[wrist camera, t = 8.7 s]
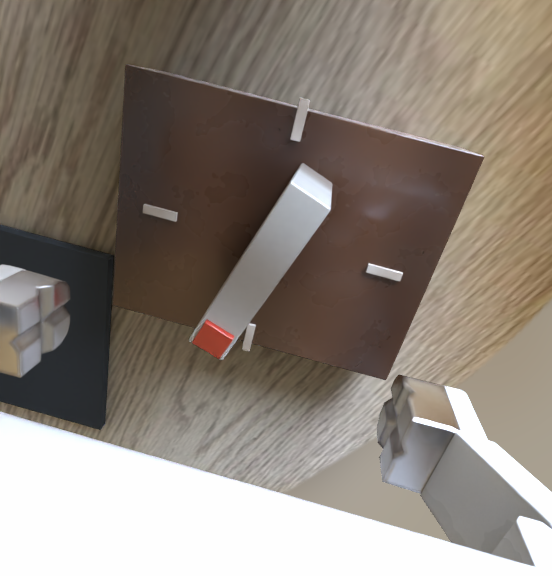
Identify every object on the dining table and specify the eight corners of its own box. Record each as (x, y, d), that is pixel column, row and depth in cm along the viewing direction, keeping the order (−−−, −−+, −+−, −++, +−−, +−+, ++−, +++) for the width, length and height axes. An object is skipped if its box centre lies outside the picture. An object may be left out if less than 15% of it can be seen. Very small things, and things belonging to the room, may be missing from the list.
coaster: (114, 255, 21) (108, 259, 20) (105, 423, 26) (100, 430, 26) (-103, 196, 21) (-114, 198, 21) (-69, 373, 27) (-78, 379, 26)
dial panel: (465, 138, 16) (491, 146, 14) (377, 350, 21) (383, 389, 18) (159, 60, 17) (123, 52, 14) (140, 285, 22) (109, 313, 19)
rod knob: (301, 161, 15) (289, 182, 11) (333, 183, 15) (331, 211, 11) (218, 291, 18) (184, 344, 14) (245, 309, 18) (220, 365, 14)
